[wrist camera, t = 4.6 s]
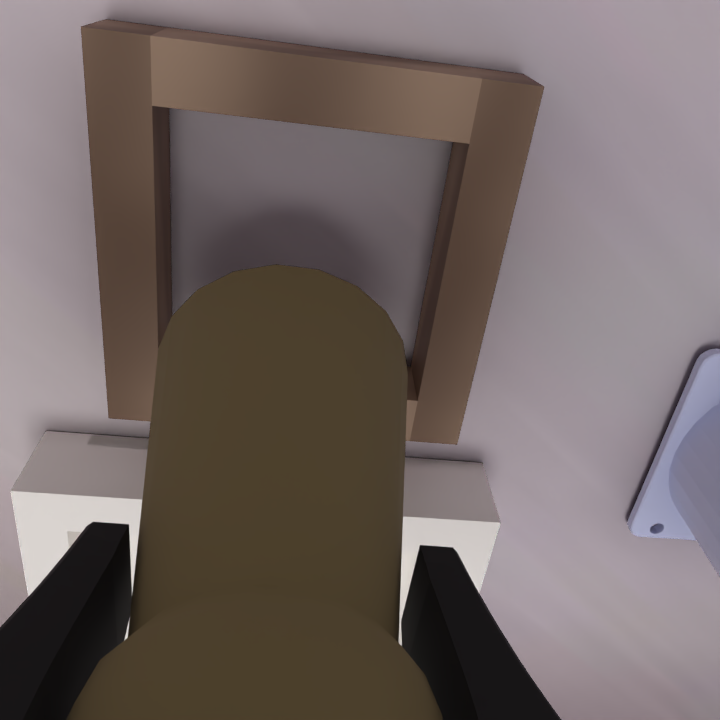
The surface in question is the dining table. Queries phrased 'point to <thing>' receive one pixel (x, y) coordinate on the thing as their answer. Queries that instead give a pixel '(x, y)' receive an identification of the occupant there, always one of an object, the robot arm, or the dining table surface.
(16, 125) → the dining table surface
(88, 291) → the dining table surface
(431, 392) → the walnut socket
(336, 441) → the cork
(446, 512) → the cream tray
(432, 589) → the robot arm
